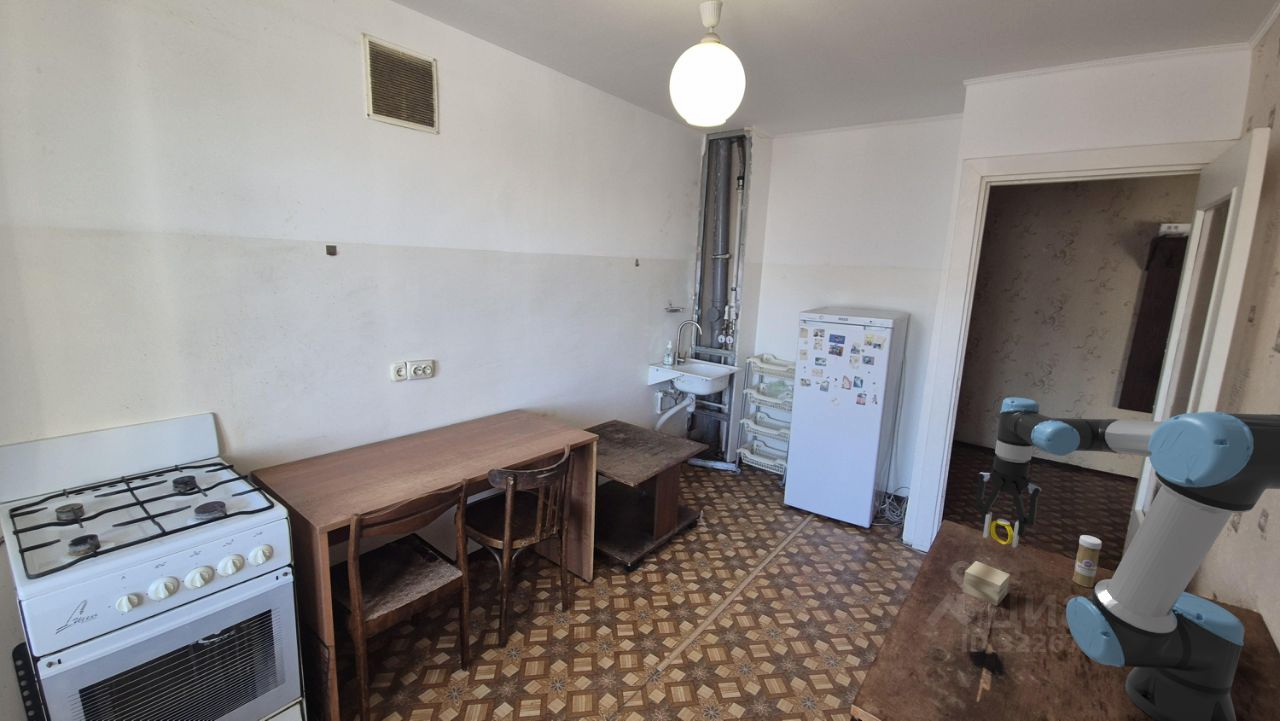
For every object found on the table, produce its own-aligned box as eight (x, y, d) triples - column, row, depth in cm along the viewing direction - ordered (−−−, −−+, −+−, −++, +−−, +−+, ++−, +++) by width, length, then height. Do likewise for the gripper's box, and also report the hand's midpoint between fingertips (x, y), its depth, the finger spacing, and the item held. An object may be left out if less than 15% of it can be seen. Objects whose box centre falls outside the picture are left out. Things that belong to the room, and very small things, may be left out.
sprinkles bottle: (1076, 586, 141) (1084, 541, 139) (1069, 576, 146) (1077, 533, 143) (1097, 589, 140) (1105, 544, 137) (1089, 580, 144) (1097, 536, 142)
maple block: (1006, 594, 137) (1010, 574, 136) (996, 606, 132) (999, 585, 131) (973, 580, 144) (976, 560, 142) (962, 591, 139) (965, 571, 138)
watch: (1013, 547, 134) (1018, 527, 132) (1004, 548, 133) (1009, 528, 132) (994, 534, 140) (998, 515, 138) (985, 535, 139) (990, 515, 137)
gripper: (1061, 464, 128) (1047, 550, 132) (974, 445, 141) (964, 523, 145) (1055, 472, 123) (1040, 560, 127) (966, 451, 136) (955, 531, 140)
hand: (1000, 540), depth 136 cm, fingers closed on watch, 6 cm apart
